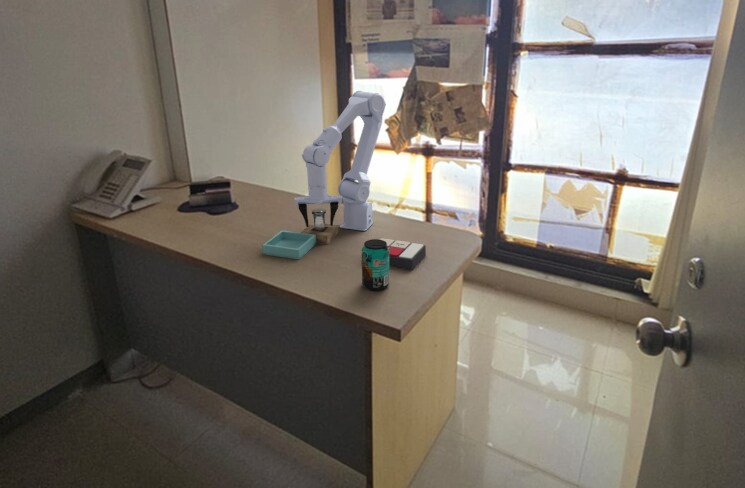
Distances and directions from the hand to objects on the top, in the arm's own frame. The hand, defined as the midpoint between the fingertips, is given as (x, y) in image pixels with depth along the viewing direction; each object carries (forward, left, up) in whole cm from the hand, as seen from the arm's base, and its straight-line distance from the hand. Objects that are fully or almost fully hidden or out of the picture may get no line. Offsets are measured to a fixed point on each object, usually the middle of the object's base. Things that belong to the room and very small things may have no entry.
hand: (319, 225), depth 155 cm
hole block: (0, 0, -4) cm, 4 cm away
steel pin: (0, 0, -4) cm, 4 cm away
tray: (+5, +11, -4) cm, 13 cm away
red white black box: (-27, +7, -5) cm, 29 cm away
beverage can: (-27, +25, -4) cm, 37 cm away
